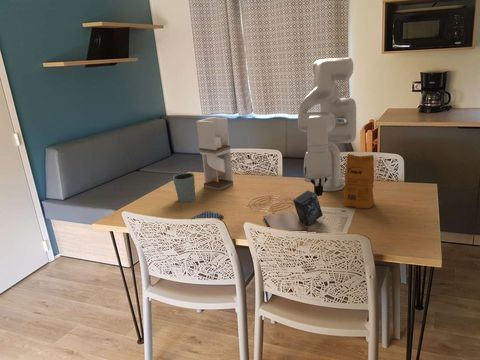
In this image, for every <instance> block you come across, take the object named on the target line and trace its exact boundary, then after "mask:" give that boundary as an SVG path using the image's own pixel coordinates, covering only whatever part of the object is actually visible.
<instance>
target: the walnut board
mask: <svg viewBox="0 0 480 360" xmlns="http://www.w3.org/2000/svg"><path fill="white" fill-rule="evenodd" d="M263 221H264V222H265V224H266V225H267V226H268V228H269V227H271V228H276V229H281V230H288V231H308V232H309V228H308V227H307V225H306V224H304V223H302V221H301V220H300V219H299V217H298V215H297V214H295V212H294V211H287V212H282V213H281V212H280V213H274V214H267V215H263Z"/></svg>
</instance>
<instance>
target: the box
mask: <svg viewBox="0 0 480 360" xmlns="http://www.w3.org/2000/svg"><path fill="white" fill-rule="evenodd" d="M292 202H293V204H294V207H295V211H296V215H297V217H298V218H299V219H300V220H301V221H302V223H303V224H304V225H305V226H310V225H311V224H313V223H314V222H316V221H317V220H318V219H320V218H322V217H323V216H324V214H323V211H322V208H321V204H320V201H319V198H318V196H317V194H316V193H314V191H311V190H306V191H304V192H303V193H301V194H300V195H298V196H297V197H296V198H293V199H292Z"/></svg>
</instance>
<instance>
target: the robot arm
mask: <svg viewBox="0 0 480 360" xmlns="http://www.w3.org/2000/svg"><path fill="white" fill-rule="evenodd" d="M312 72H313V84H312V91H310V92H309V93H308V94H307V95H306V96H305V97H304V99H303V100H302V101H301V103H300V104H299V108H298V115H297V127H298V130H299V131H301V132H302V133H303V132H304V133H306V135H307V136H306V137H307V138H306V139H307V141H306V142H307V151H306V152H305V154H304V159H303V176H304V182H306V183H312V185H313V193H316V194H317V197H320V196H321V197H322V196H323V193H324V192H339V191H341V190H344V188H345V176H343V177H341V175H342V174H341V151H340V149H339V147H338V145H336V144H352V143H354V142H355V141H356V139H357V103H356V100H355V99H354V98H351V97H340V87H339V84H338V82H337V81H347V80H348V81H349V79H350V78H351V77H352V75H353V73H354V61H353V59H352V58H351V57H335V58H332V57H331V58H323V59H317V60H316V61H314V62H313V64H312ZM318 105H319V110H320V111H319V112H318V111H317V112H313V111H310V109H312V108H314V107H315V106H318ZM309 111H310V112H309ZM337 120H345V121H343V122H342V121H341V122H339V121H338V122H337Z"/></svg>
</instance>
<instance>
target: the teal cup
mask: <svg viewBox="0 0 480 360" xmlns="http://www.w3.org/2000/svg"><path fill="white" fill-rule="evenodd" d="M172 181H173V183H174V184H173V185H174V187H175V191H176V197H177V200H178V202H180V203H190V202H193V201H195V200H196V199H197V196H196V186H195V182H196V181H195V174H194V173H191V172H184V173H183V172H182V173H179V174H175V175H173V176H172Z"/></svg>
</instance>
